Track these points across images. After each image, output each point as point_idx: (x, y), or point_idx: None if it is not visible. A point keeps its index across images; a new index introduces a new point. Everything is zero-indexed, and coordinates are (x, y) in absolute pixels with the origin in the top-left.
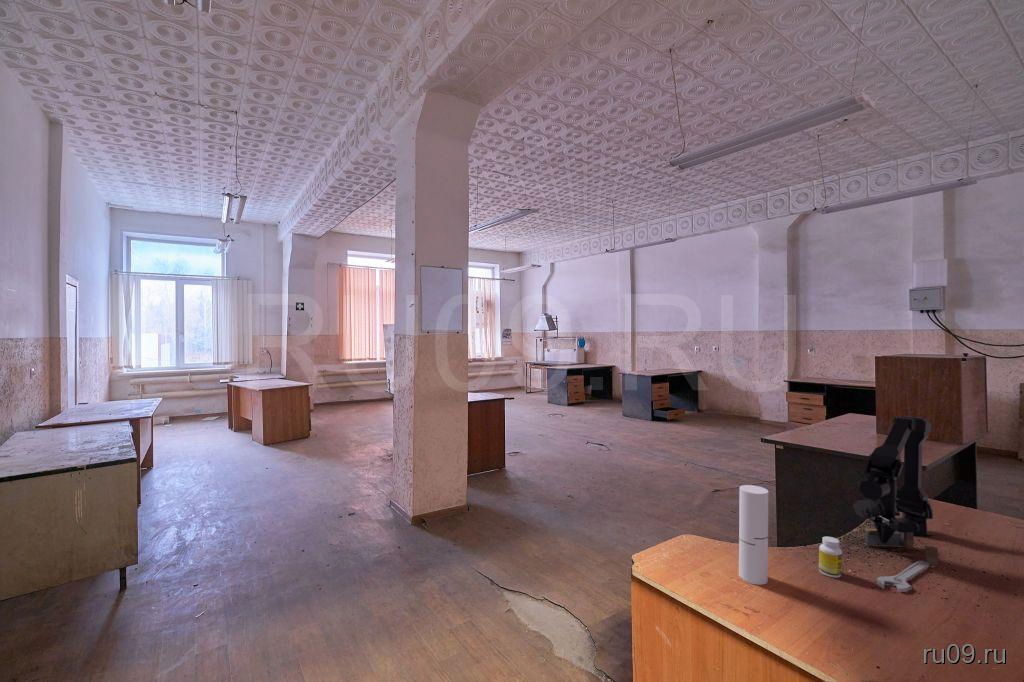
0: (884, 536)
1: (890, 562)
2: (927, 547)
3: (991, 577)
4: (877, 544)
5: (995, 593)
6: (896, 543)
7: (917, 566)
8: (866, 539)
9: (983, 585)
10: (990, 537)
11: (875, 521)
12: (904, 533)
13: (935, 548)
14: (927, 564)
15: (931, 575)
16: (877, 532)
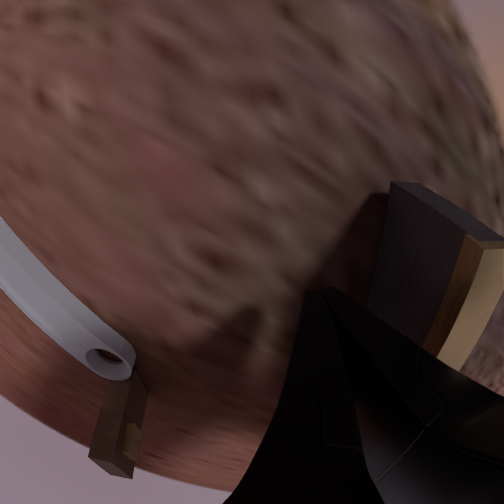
0: (290, 357)
1: (93, 189)
2: (97, 458)
3: None
4: (379, 264)
5: (15, 394)
6: None
7: (55, 313)
8: (426, 196)
9: (48, 406)
10: None
11: (494, 483)
12: None
13: (105, 470)
14: (105, 371)
15: (24, 317)
16: (430, 337)
